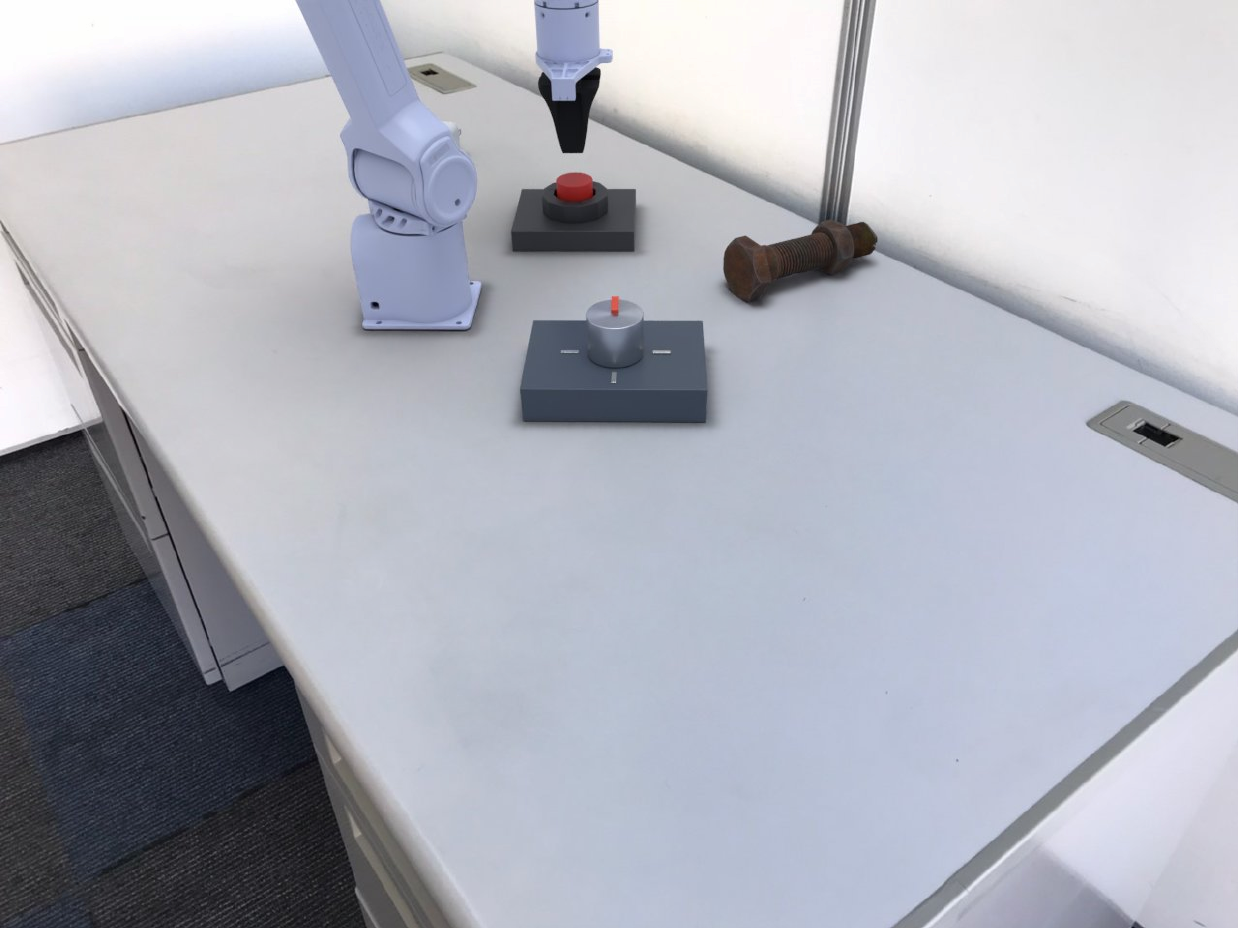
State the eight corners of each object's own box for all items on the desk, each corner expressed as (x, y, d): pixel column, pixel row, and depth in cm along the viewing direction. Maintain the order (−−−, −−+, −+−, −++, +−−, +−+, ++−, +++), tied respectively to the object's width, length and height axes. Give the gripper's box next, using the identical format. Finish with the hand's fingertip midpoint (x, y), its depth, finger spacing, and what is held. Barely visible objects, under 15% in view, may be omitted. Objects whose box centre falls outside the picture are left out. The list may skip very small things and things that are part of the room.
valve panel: (522, 421, 76) (519, 387, 74) (535, 350, 84) (532, 318, 82) (705, 422, 76) (707, 388, 74) (701, 351, 84) (702, 318, 82)
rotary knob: (643, 368, 76) (643, 325, 74) (586, 368, 76) (584, 325, 74) (643, 337, 80) (643, 295, 77) (588, 337, 80) (586, 296, 77)
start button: (555, 204, 98) (554, 187, 97) (558, 188, 101) (557, 172, 100) (592, 203, 98) (591, 187, 97) (593, 188, 101) (593, 172, 100)
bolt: (867, 276, 97) (739, 312, 91) (842, 235, 98) (715, 267, 92) (896, 240, 92) (763, 275, 86) (870, 197, 93) (737, 228, 87)
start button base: (512, 252, 98) (509, 214, 96) (523, 208, 106) (520, 172, 103) (634, 252, 98) (634, 214, 95) (636, 208, 105) (635, 172, 103)
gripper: (608, 24, 82) (611, 181, 91) (614, -20, 94) (616, 123, 102) (523, 24, 83) (534, 181, 91) (539, -20, 94) (548, 123, 102)
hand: (573, 150), depth 97 cm, fingers closed
